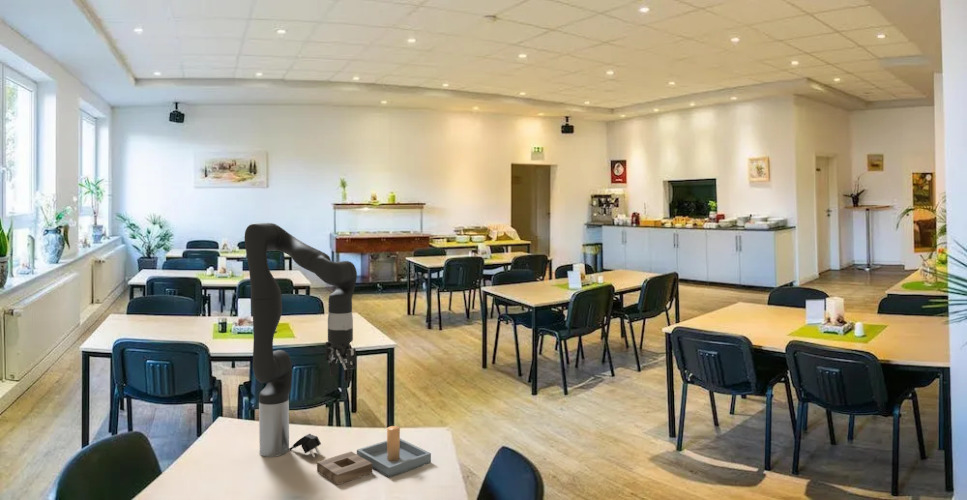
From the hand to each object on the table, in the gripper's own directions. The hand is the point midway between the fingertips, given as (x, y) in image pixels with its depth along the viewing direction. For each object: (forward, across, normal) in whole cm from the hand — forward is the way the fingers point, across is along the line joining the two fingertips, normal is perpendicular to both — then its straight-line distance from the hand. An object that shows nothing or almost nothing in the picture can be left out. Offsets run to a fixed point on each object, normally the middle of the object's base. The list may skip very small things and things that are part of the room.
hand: (340, 378), depth 187 cm
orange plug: (+28, +7, +15) cm, 32 cm away
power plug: (+28, -18, -3) cm, 34 cm away
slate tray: (+28, +7, +15) cm, 33 cm away
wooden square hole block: (+28, +4, -1) cm, 28 cm away
